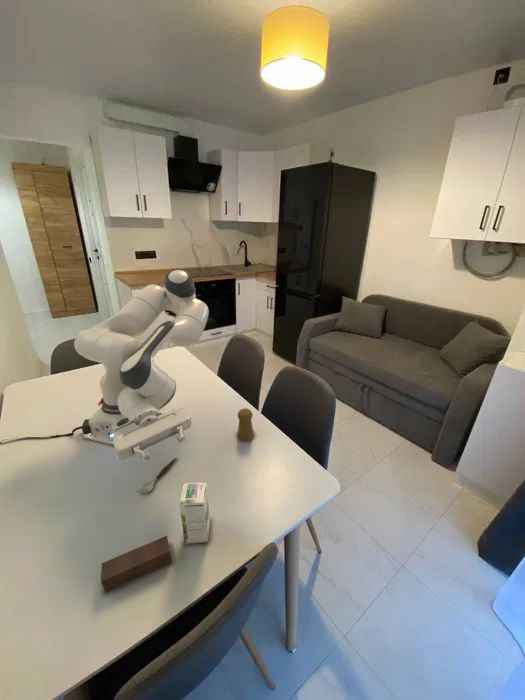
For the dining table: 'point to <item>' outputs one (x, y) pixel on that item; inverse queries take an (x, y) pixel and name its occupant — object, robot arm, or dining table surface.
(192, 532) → the syrup box
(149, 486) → the fork
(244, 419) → the olive brown hourglass shape
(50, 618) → the dining table surface
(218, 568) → the dining table surface
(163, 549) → the walnut block
